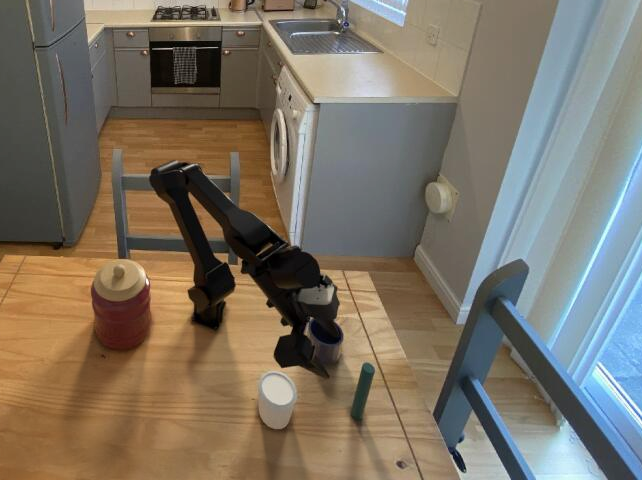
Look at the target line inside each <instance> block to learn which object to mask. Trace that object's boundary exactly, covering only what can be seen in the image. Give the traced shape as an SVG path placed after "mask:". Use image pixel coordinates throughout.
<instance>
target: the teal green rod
mask: <svg viewBox="0 0 642 480" xmlns="http://www.w3.org/2000/svg"><path fill="white" fill-rule="evenodd" d="M375 371H376V369H375V366H374V365H373V364H371V363H370V362H367V361H366V362H363V363H362V365H361V370H360V373H359V378H358V380H357V384H356V389H355V393H354V396H353V401H352V404H351V409H350V415H351V417H352V418H353V419H354V420H356V421H361V420H362V419H363V416H364V412H365V409H366V405H367V401H368V399H369V395H370V391H371V387H372V384H373V380H374V376H375V373H376V372H375Z"/></svg>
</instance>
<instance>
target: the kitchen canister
mask: <svg viewBox="0 0 642 480" xmlns="http://www.w3.org/2000/svg"><path fill="white" fill-rule="evenodd" d="M90 297H91V308H92V310H93V325H94V326H93V327H94V331H95V334H96V336H97V338H98V339H99V341H100V342H101V343H102V345H104V346H105V347H107V348H109V349H111V350H117V351H125V350H129V349H133V348H134V347H137V346H138V345H139V344H142V342H143V341H144V340H145V339H146V338H147V336H148V334H149V332H150V329H151V325H152V311H151V299H152V296H151V281H150V278H149V276H148V275H147V273H146V271H145V269H144V268H143V267H142V265H140V264H139V263H138V262H136V261H134V260H131V259H126V258H119V259H113V260H110V261H108V262H106V263H105V264H103V265H102V266H101V267H100V268H99V269H98V270H97V271H96V272H95V275H94V278H93V281H92V283H91V286H90Z"/></svg>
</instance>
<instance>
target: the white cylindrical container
mask: <svg viewBox="0 0 642 480" xmlns="http://www.w3.org/2000/svg"><path fill="white" fill-rule="evenodd" d="M257 383H258V384H257V394H258V395H257V397H258V398H257V399H258V413H259V417H260V418H261V420H262V422H263V423H264V424H265V425H266V426H267V427H268V428H271V429H273V430H282V429H284V428H286V427H287V426H288V424H289V423H290V420H291V417H292V414H293V411H294V408H295V406H296V402H297V399H298V390H297V387H296V384H295V383H294V381H293V380H292V379H291V377H290V376H288V375H287V374H285V373H284V372H282V371H280V370H268V371H267V370H266V371H265V372H263V373H262V374H261V376H260V377H259V378H258V382H257Z"/></svg>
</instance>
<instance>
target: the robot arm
mask: <svg viewBox="0 0 642 480" xmlns="http://www.w3.org/2000/svg"><path fill="white" fill-rule="evenodd" d="M148 178H149V179H148V181H149V184H150V186H151V187H152V189H153V190H154V192H155V194H156V196H157V197H158V198H159V199H160V200H162V201H164V202H165V203H166V204H167V205H168V207H169V208H170V212H171V213H172V216H173V218H174V220H175V222H176V225H177V227H178V230H179V232H180V235H181V236H182V239H183V241H184V244H185V246H186V248H187V251H188V253H189V256H190V258H191V260H192V262H193V265H194V267H193V278H192V279H193V280H192V281H193V284H194V285H193V286H191V287H190V288H189V289H187V291H186V292H187V295H188V299H189V300H190V301H191V302H192V303H193V313H192V315H191V317H190V320H191V322H193V323H196V324H198V325H201V326H203V327H205V328H209V329H211V330H214V331H218V330H219V328H220V326H221V324H222V323H223V322H224V319H225V317H226V314H227V301H226V300H225V299H226V298H227V297H229V296H231V295H232V294H233V293H234V292H235V290H236V287H237V285H236V281H235V279H236V278H235V276H234V275H233V273H232V271H231V268H230V265H229V263H228V262H227V261H224V262H223V261H221V259H219V258H218V257H216V255H215V253H214V251H213V249H212V247H211V245H210V242H209V240H208V238H207V235H206V233H205V230H204V228H203V226H202V224H201V222H200V219H199V217H198V214H197V212H196V210H195V208H194V205H193V203H192V201H191V199H190V196H189V193H190V195H191V196H192V197H193V198H194V199H195V200H196V201H197V202H198V203H199V204H200V206H202V208H204V210H205V211H206V212H207V213H208V214H209V215H210V216H211V217H212V218H213V220H215V222H216V223H217V224H218V225H219V226H220V228H221V229H222V235H223V239H224V241H225V242H226V244H227V245H228V246H229V248H230V250H231V251H232V253H233V254H234V255H235V256H236V257H238V259H240V260H241V268H240V273H241V274H242V275H248V276H249V277H250V278H251V279H252V280H253V282H254V284H256V285H257V287H258V288H259V290H260V291H261V292H262V293H263V295H264V296H265V297H266V299H267V300H266V302H265V305H266V306H267V307H268V309H273V308H275V310H276V311H277V313H278V314H279V315H280V317H281V318H280V321H279V323H280V324H281V325H282V327H287V326H289V327H291V330H290V333H288V334H285V335H280V336H279V337H278V340H277V343H276V345H275V348H274V350H273V356H272V357H273V359H274V360H275V362H276V363H277V364H278V366H279V367H280V368H281V369H285V368H287V369H288V368H292V367H300V368H302V369H305V370H307V371H309V372H310V373H312V374H314V375H316V376H318V377H320V378H322V379H323V380H330V379H331V376H330V374H329V371H328V370H327V368H326V367H325V366H324V364H322V363H321V362H320V360H319V359H318V357H317V356H316V355H315V349H316V345H314V346H312V343H311V340H310V339H309V338H308V336H307V330H308V325H309V322H310V321H311V320H312V319H313V318H314V319H315V320H316V321H317V322H318V323H319V324H320V325H321V326H322V327H323V328H325V329H326V330H327V331H328V332H329V333H330V334H332V335H333V336H334V337H339V335H340V334H339V332H338V329H337V327H336V324H335V322H336V321H335V320H336V319H337V317H338V310H339V307H340V305H341V302H340V300H339V296H338V295H337V293H338V289H339V287H338V286H337V285H335V283H334V281H333V280H332V279H331V278H330V276H329V275H328V274H327V273H321V268H320V265H319V262H318V261H317V258H315V257H314V256H313V255H312V254H311V253H309V252H307V251H302V250H301V247H300V246H299V245H298V244H295V245H291V246H290V244H289V242H288V241H286V239H284V237H283V236H281V235H279V234H278V233H277V232H276V231H275V230H273V229H272V228H271V227H270V225H268V224H267V223H266V222H265V221H264V220H262V219H261V218H260V217H258V215H256V214H254V212H252V211H248V210H245V209H242V208H240V207H239V206H238V205H236V204H235V203H234V202H233V201H232V200H231V199H230V198H229V196H227V195H226V193H224V192H223V191H222V190H221V189H220V188H219V187H218V186H217V185H216V184H215V183H214V182H213V180H211V179H210V178H209V176H208V175H206V174H205V173H204V171H203V169H202V167H201V165H200V164H198V163H197V162H190V161H182V162H179V160H176V159H172V160H170V161H168V162H167V161H166V162H165V163H162V164H161V165H158V166H156V167H154V168H152V169H151V170H150V174H149V177H148Z"/></svg>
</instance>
